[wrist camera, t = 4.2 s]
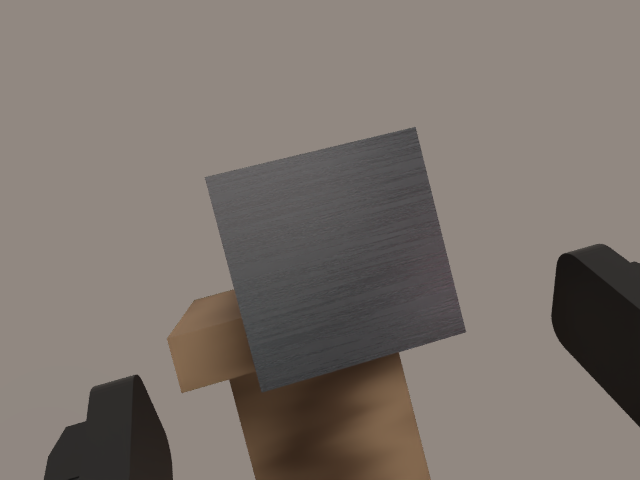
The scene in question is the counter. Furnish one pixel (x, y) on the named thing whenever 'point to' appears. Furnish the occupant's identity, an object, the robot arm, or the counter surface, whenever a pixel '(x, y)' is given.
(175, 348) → the tall column
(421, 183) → the brushed steel bar
